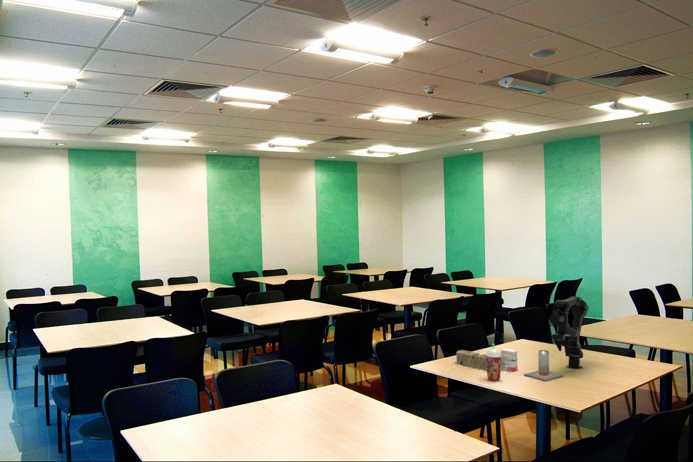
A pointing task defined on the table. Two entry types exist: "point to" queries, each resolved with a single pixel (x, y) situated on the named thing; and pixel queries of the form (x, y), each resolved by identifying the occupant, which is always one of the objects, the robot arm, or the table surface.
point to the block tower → (472, 359)
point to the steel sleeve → (543, 362)
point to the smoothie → (493, 364)
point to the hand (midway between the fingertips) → (562, 349)
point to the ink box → (509, 360)
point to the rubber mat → (543, 378)
